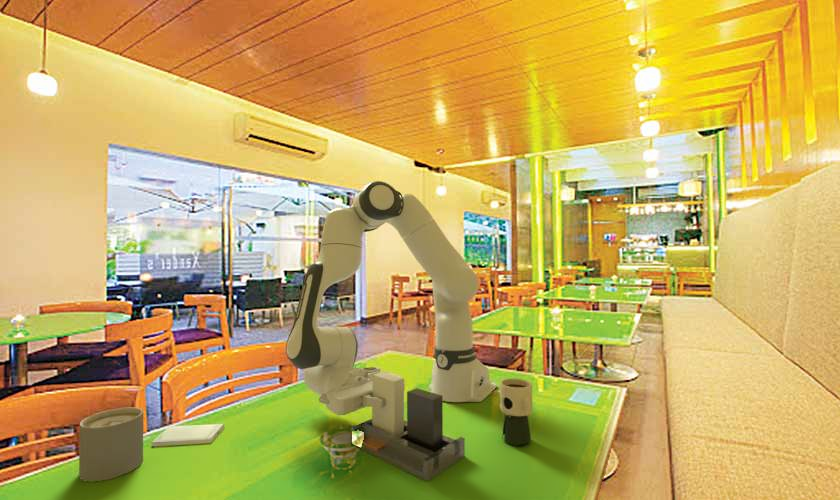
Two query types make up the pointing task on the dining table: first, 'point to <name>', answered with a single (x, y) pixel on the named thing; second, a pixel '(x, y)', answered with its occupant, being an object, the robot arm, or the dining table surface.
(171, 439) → the hard drive
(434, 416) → the rack
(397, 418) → the beige rectangular block
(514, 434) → the character mug
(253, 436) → the dining table surface
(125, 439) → the coffee mug
